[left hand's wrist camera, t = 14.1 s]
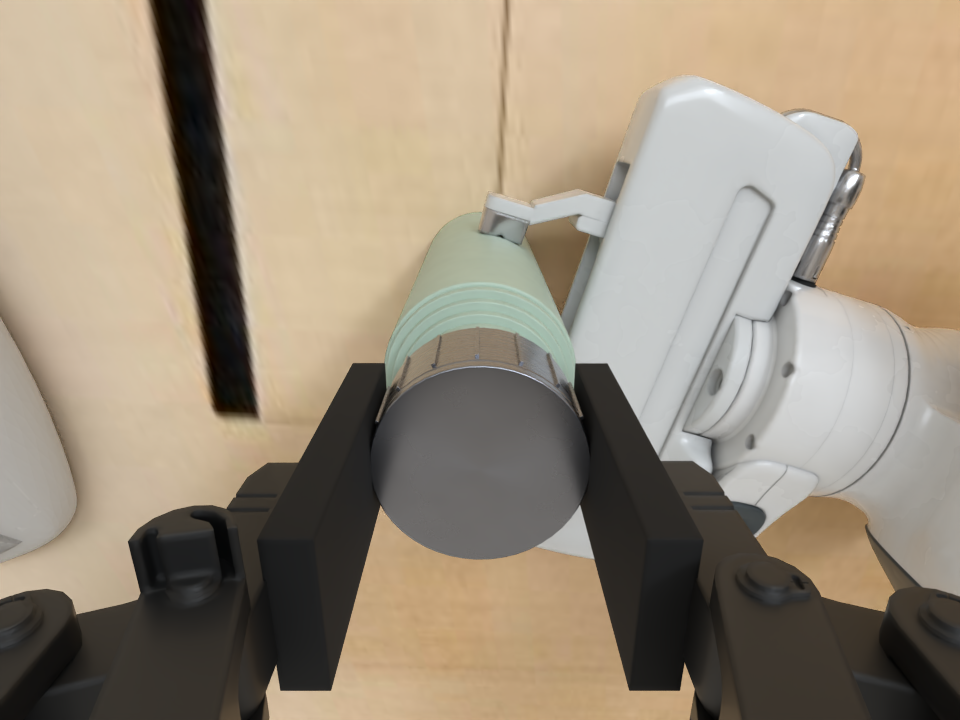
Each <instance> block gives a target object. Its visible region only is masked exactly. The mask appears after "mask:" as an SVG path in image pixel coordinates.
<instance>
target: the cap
mask: <svg viewBox="0 0 960 720" xmlns="http://www.w3.org/2000/svg"><path fill="white" fill-rule="evenodd" d="M583 419H584V417H583V414H582V411H581V408H580V405H579V403H578V400H577V397H576V394H575V391H574V389H573V386H572V383H571V382H568V381H567V378H566V376H565V375H564V373H563V371H562V370H561V368H560V366H559V365H558V364H557V363H556V362H555V360H554V359H553V358H552V355H551V353H549V352H548V353H547V352H546V351H545V350H543V349H542V348H541V347H539V346H538V345H536V344H535V343H534V342H532V341H530V340H528V339H526V338H524V337H522V336H520V335H519V334H518V333H515V334H514V333H512V332H508V331H504V330H500V329H493V328H479V327H476V328H467V329H461V330H456V331H453V332H449V333H446V334H443V335H437V337H436V338H434V339H432V340H431V341H429V342H427V343H426V344H424V345H422V346H421V347H420V348H419V349H417V350H416V351H415V352H414V353H413V354H412V355H411V356H410V357H409V356H407V357H406V359H405V362H404V363H403V365H402V366H401V368H400V369H399V370H398V372H397V374H396V376H395V378H394V380H393V382H392V384H391V387H390V386H388V387H387V390H386V393H385V396H384V398H383V401H382V404H381V407H380V409H379V412H378V415H377V417H376V420H375V423H374V424H376V425H377V427H376V430H375V432H374V435H373V438H372V442H371V447H370V462H371V476H372V485H373V489H374V492H375V494H376V496H377V499H378V501H379V503H380V505H381V506H382V508H383V510H384V511H385V513H386V514H387V515H388V517H389V518H390V519H391V521H392V522H393V523H394V524H395V525H396V526H397V527H398V528H399V529H400V530H401V531H402V532H404V533H405V534H406V535H408V536H409V537H410V538H411V539H413V540H414V541H416V542H418V543H420V544H421V545H423V546H425V547H427V548H429V549H432V550H434V551H436V552H439V553H442V554H446V555H449V556H454V557H459V558H465V559H495V558H502V557H507V556H511V555H515V554H518V553H521V552H524V551H527V550H529V549H531V548H533V547H535V546H537V545H539V544H541V543H543V542H544V541H546V540H547V539H549V538H550V537H552V536H553V535H554V534H556V533H557V532H558V531H559V530H560V529H562V528H563V526H564V525H565V524H566V523H567V522H568V521H569V520H570V519H571V518H572V516H573V515H574V513H575V512H576V510H577V509H578V507H579V505H580V504H581V502H582V500H583V498H584V496H585V493H586V490H587V487H588V482H589V469H590V445H589V441H588V437H587V434H586V431H585V428H584V425H583V422H582V420H583Z"/></svg>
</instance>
